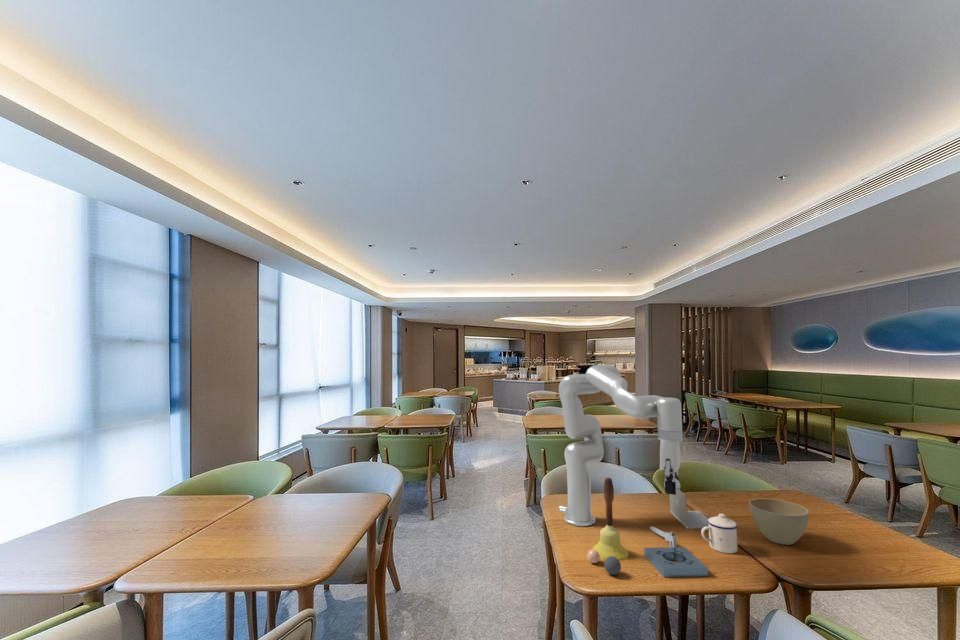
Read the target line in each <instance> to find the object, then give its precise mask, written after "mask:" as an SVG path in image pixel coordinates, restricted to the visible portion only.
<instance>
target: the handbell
mask: <svg viewBox="0 0 960 640" xmlns="http://www.w3.org/2000/svg"><path fill="white" fill-rule="evenodd" d="M614 492H615V490H614V485H613V479H612V477H605V479H604V483H603V498H604V501H605V520H606V521H605V526H604V527H602V528H601V529H600V531H599V541H598V542H597V543H595V544H594V545H593V546H592V548H591V550H592V549H594V550H596V551H598V553H599V555H600V559H602V560H605V559H606V558H607V557H610V556H613V557H615V558H617V559H618V560H619V562H620V561H625V560H626V558H627V559H628V558H629V556H630V554H629V552H628V550H627V549H626V548H625V547H624V546H623V545H622V543H621V536H620V532H619V531H618V529H616V528H615V527H614V526H613V525H614V524H613V523H614V521H613V502H614V497H615V493H614ZM624 559H625V560H624Z"/></svg>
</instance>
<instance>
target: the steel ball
mask: <svg viewBox="0 0 960 640" xmlns="http://www.w3.org/2000/svg"><path fill="white" fill-rule="evenodd" d="M674 482H676V493H677V492H678V491H679V490H680V491H681V483H680V481H678V480H677V479H676V478H675V481H674ZM663 486H664V488H665V480H664V481H663Z"/></svg>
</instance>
